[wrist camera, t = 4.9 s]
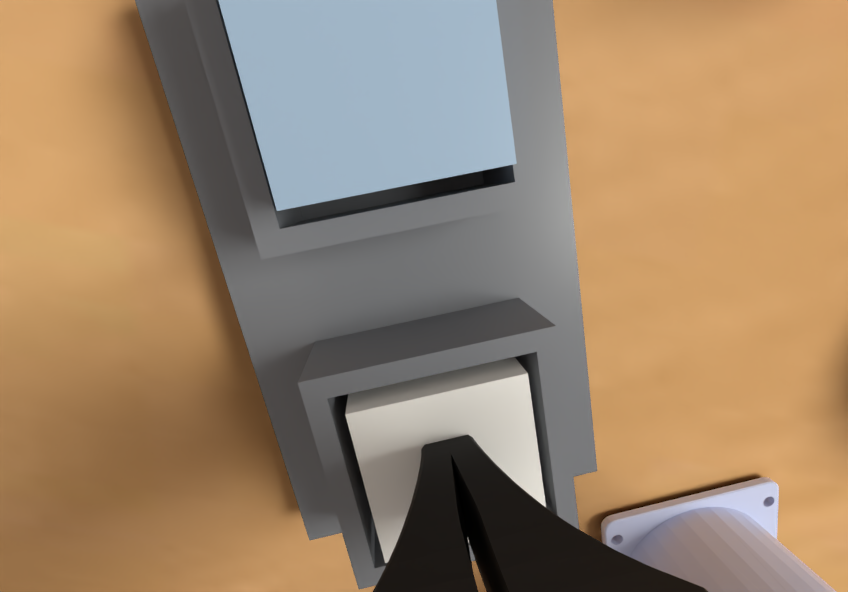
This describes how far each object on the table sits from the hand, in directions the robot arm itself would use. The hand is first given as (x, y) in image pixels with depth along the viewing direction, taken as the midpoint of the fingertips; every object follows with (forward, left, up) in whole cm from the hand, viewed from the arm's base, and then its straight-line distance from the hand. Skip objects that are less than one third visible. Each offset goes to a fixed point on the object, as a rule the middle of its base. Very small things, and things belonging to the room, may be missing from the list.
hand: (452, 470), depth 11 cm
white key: (0, 0, -3) cm, 3 cm away
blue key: (+10, 0, -2) cm, 10 cm away
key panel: (+5, 0, -5) cm, 7 cm away
